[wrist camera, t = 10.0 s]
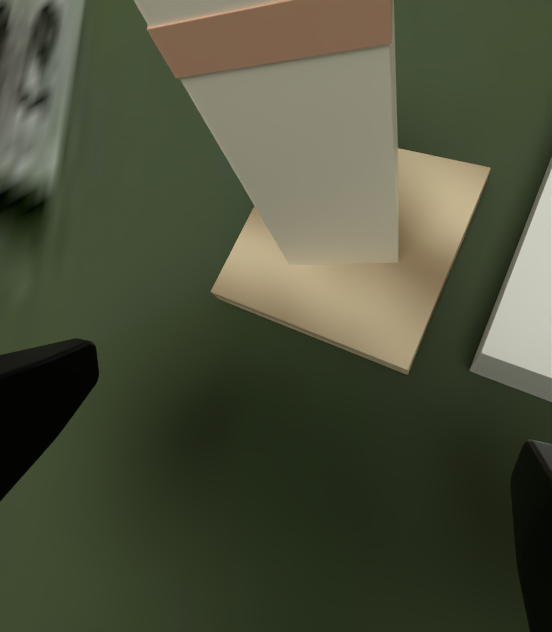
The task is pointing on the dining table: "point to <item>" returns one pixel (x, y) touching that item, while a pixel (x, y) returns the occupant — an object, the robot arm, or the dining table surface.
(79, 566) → the dining table surface
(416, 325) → the pad
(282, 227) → the rectangular peg
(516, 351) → the white slotted base
